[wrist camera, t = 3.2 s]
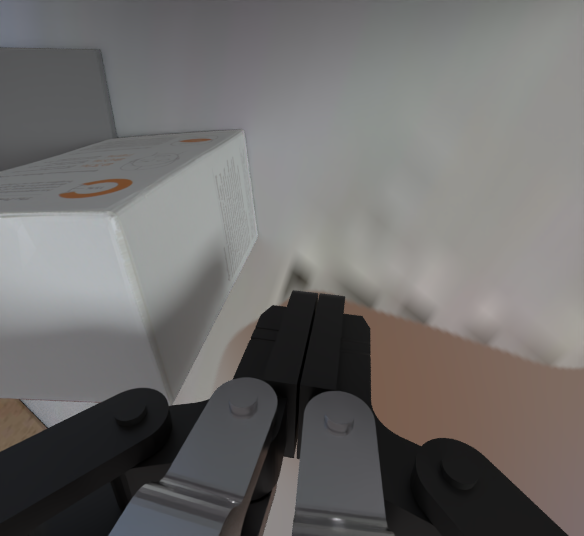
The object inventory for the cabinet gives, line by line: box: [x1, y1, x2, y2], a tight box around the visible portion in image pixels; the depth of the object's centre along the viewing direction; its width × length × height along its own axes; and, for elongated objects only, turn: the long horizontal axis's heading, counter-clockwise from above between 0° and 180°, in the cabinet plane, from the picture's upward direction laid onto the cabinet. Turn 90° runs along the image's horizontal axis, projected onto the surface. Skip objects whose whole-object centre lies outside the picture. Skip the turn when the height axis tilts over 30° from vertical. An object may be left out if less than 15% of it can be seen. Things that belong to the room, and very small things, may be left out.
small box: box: [0, 130, 258, 406], centre depth 16 cm, size 8×6×13 cm
